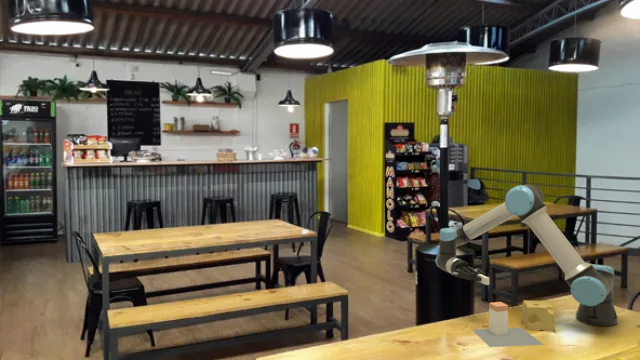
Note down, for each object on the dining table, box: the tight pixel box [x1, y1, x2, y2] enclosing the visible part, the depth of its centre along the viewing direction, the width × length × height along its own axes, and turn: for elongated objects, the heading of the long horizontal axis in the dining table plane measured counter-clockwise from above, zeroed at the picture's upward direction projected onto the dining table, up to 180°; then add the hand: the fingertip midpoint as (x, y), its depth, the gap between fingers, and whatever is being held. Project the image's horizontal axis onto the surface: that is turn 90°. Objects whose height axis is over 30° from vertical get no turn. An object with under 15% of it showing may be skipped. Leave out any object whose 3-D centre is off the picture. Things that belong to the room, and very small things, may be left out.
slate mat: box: [471, 327, 545, 348], centre depth 200 cm, size 20×18×1 cm
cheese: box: [521, 299, 556, 334], centre depth 211 cm, size 10×11×10 cm
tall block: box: [488, 301, 509, 335], centre depth 205 cm, size 5×5×11 cm
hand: (487, 281), depth 211 cm, fingers closed
